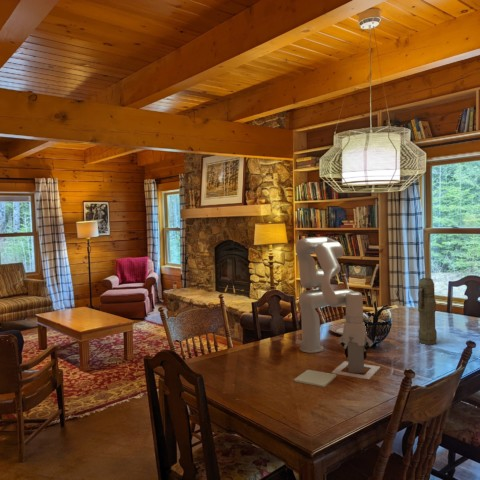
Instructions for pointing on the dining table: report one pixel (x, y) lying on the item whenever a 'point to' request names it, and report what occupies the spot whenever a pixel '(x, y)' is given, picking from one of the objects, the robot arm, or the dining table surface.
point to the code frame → (366, 376)
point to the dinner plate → (337, 328)
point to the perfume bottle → (355, 357)
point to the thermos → (427, 312)
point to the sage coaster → (315, 378)
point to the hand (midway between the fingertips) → (355, 357)
